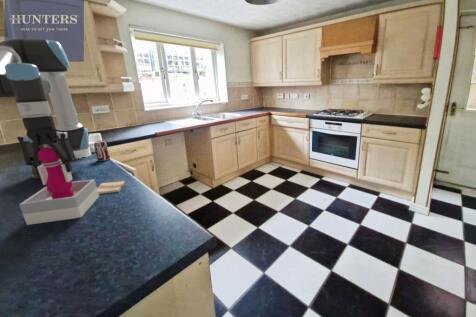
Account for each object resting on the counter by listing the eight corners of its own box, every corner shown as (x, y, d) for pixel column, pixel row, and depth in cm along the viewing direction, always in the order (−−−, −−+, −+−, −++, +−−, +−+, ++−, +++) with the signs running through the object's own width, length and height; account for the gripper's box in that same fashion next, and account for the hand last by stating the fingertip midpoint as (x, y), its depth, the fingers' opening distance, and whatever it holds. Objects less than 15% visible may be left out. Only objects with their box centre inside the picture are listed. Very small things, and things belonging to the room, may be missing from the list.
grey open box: (55, 201, 87) (49, 184, 85) (99, 196, 90) (94, 179, 88) (27, 224, 72) (19, 204, 70) (81, 217, 75) (75, 197, 73)
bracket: (87, 158, 146) (82, 140, 142) (72, 159, 145) (67, 141, 142) (107, 148, 170) (103, 132, 166) (94, 149, 169) (90, 133, 165)
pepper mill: (69, 190, 84) (53, 139, 78) (79, 194, 81) (63, 141, 75) (47, 199, 78) (27, 144, 72) (56, 203, 75) (36, 146, 69)
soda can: (96, 160, 139) (91, 141, 136) (108, 157, 144) (104, 139, 140) (99, 162, 135) (94, 143, 131) (111, 159, 139) (107, 141, 136)
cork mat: (102, 185, 101) (101, 183, 100) (125, 182, 102) (125, 180, 102) (93, 194, 91) (92, 192, 91) (119, 191, 93) (118, 189, 93)
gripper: (-9, 119, 65) (18, 190, 73) (64, 114, 69) (83, 182, 76) (10, 116, 73) (34, 181, 80) (76, 112, 76) (92, 174, 83)
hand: (58, 181), depth 78 cm, fingers closed on pepper mill, 6 cm apart
